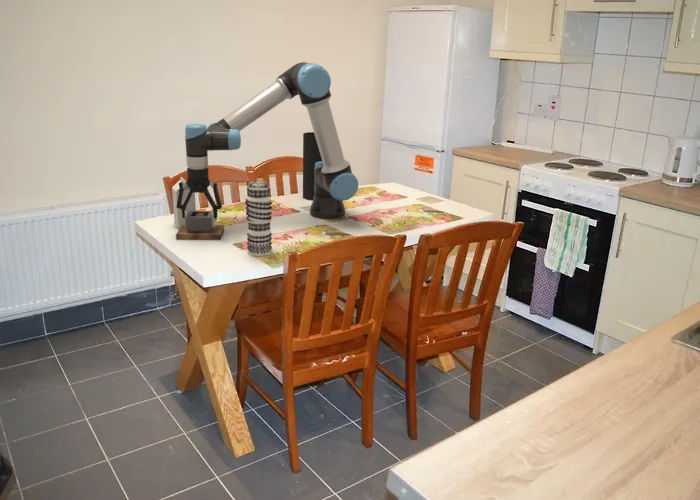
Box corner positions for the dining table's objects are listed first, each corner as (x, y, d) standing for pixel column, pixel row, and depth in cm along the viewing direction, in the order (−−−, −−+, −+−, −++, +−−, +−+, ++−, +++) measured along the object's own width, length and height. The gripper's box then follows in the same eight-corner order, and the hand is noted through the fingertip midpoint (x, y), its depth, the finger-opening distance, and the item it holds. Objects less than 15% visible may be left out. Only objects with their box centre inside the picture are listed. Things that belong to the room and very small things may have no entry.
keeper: (224, 230, 236) (223, 210, 233) (220, 240, 224) (219, 219, 222) (182, 229, 234) (181, 209, 232) (176, 239, 223) (174, 218, 221)
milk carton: (178, 229, 235) (175, 181, 229) (174, 224, 241) (171, 177, 235) (196, 227, 238) (194, 179, 232) (192, 222, 244) (189, 175, 238)
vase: (302, 194, 292) (302, 132, 282) (323, 194, 293) (324, 132, 283) (303, 200, 282) (303, 135, 272) (324, 200, 283) (326, 135, 273)
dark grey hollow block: (214, 223, 233) (213, 211, 231) (210, 230, 225) (210, 217, 223) (190, 223, 232) (189, 210, 231) (186, 230, 224) (185, 217, 222)
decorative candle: (241, 254, 211) (239, 183, 203) (254, 246, 219) (253, 178, 211) (264, 258, 208) (263, 186, 200) (277, 250, 216) (276, 181, 208)
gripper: (229, 165, 225) (230, 223, 233) (169, 164, 224) (172, 223, 231) (226, 170, 218) (228, 229, 226) (164, 168, 216) (168, 229, 224)
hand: (200, 226), depth 228 cm, fingers closed on dark grey hollow block, 9 cm apart
